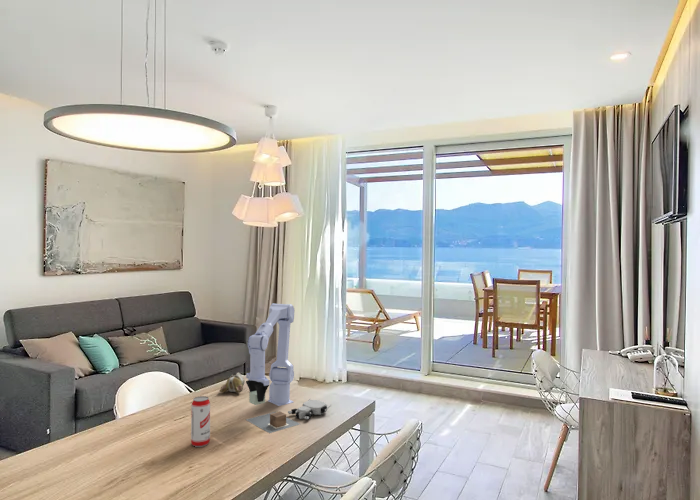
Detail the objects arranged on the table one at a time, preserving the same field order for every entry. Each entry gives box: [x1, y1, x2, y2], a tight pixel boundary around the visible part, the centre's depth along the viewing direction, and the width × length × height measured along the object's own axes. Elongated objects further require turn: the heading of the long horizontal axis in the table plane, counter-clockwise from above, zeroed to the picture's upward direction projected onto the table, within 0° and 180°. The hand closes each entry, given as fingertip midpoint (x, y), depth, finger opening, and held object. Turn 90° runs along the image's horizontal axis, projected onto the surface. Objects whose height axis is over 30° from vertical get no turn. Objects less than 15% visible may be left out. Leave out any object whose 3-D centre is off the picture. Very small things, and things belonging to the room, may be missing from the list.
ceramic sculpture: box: [219, 371, 246, 393], centre depth 225 cm, size 11×9×15 cm
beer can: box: [190, 395, 211, 448], centre depth 163 cm, size 6×6×16 cm
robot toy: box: [287, 398, 332, 420], centre depth 193 cm, size 12×4×15 cm
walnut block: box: [270, 411, 287, 428], centre depth 181 cm, size 4×4×4 cm
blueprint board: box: [245, 411, 301, 434], centre depth 184 cm, size 18×14×1 cm
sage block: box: [248, 391, 266, 406], centre depth 185 cm, size 4×4×4 cm
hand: (257, 399), depth 185 cm, fingers closed on sage block, 4 cm apart
